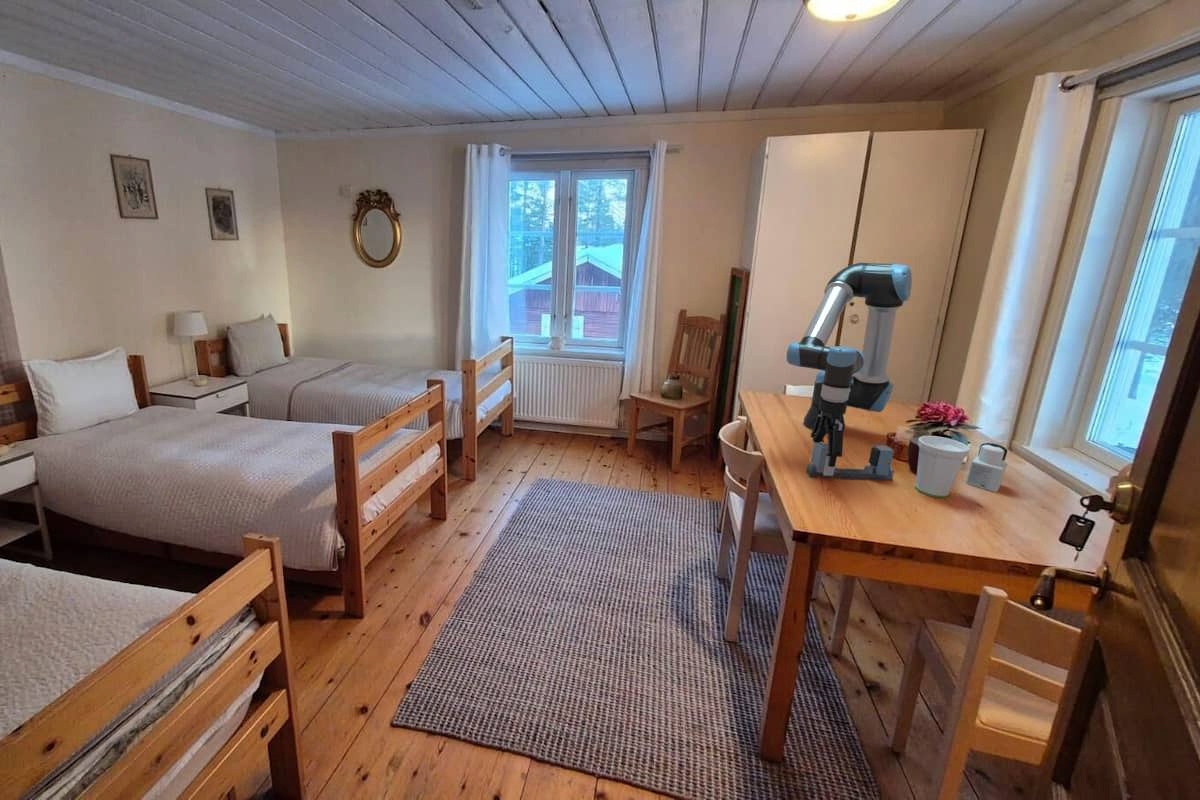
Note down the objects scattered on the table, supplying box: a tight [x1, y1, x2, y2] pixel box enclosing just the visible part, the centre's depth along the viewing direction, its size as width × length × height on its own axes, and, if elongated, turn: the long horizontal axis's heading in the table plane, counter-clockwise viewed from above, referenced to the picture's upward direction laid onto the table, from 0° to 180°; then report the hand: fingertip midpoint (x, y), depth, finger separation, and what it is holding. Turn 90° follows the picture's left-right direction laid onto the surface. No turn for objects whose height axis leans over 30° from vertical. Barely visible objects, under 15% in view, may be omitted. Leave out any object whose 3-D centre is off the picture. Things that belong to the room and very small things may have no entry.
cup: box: [914, 435, 970, 499], centre depth 148 cm, size 12×12×15 cm
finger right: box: [811, 442, 829, 473], centre depth 155 cm, size 4×5×8 cm
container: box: [966, 442, 1008, 493], centre depth 154 cm, size 8×8×13 cm
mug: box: [907, 437, 920, 474], centre depth 161 cm, size 10×8×10 cm
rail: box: [805, 444, 895, 481], centre depth 156 cm, size 4×26×10 cm, turn 90°
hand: (821, 468), depth 156 cm, fingers open, 9 cm apart
